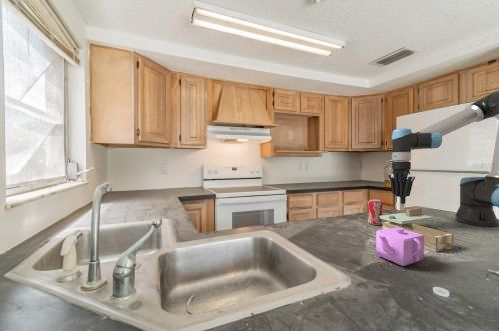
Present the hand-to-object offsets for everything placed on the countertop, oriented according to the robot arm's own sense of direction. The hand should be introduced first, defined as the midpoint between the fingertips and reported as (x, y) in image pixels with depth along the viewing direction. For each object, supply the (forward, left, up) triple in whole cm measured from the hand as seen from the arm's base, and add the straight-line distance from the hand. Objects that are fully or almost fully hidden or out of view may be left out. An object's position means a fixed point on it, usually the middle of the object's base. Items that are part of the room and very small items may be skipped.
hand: (400, 210), depth 105 cm
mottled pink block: (+37, +24, -8) cm, 45 cm away
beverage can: (+9, -7, -8) cm, 14 cm away
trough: (+14, +15, -8) cm, 22 cm away
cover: (+5, +6, -2) cm, 8 cm away
